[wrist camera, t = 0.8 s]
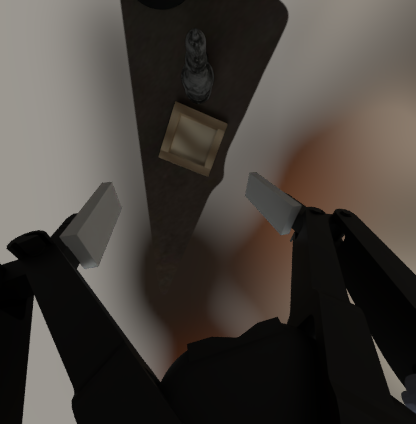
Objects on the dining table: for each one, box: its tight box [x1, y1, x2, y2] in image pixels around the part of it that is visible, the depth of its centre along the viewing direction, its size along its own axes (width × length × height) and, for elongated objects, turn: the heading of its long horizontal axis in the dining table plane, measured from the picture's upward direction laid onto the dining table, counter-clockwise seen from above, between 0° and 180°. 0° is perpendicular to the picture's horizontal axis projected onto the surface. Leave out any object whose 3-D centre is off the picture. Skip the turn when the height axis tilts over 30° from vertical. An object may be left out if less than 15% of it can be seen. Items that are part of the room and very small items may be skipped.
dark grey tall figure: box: [181, 28, 214, 104], centre depth 24 cm, size 6×6×12 cm
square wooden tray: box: [159, 101, 227, 177], centre depth 31 cm, size 11×11×2 cm
